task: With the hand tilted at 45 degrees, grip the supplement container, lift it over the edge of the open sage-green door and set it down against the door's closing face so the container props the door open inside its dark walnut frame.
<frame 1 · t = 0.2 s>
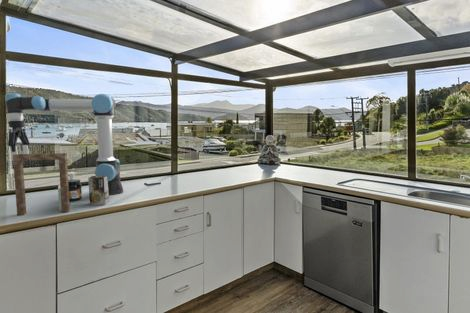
hand: (21, 156, 180), 27 cm above the worktop, tool pointing down, fingers open, 13 cm apart
coffee box: (99, 204, 177), on the worktop
flower in vase: (71, 193, 204), on the worktop
door frame: (44, 213, 157), on the worktop
door: (62, 196, 166), point 6 cm above the worktop, hinge at -75.0°
supplement container: (72, 200, 186), on the worktop
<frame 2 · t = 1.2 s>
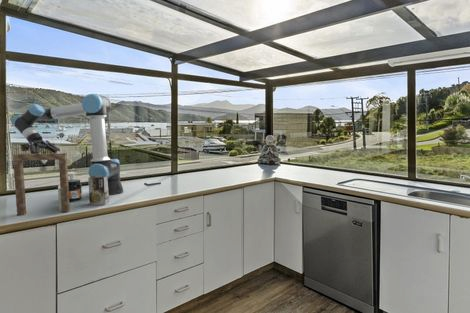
hand: (54, 161, 186), 24 cm above the worktop, tool tilted 45°, fingers open, 13 cm apart
nothing on the worktop moved.
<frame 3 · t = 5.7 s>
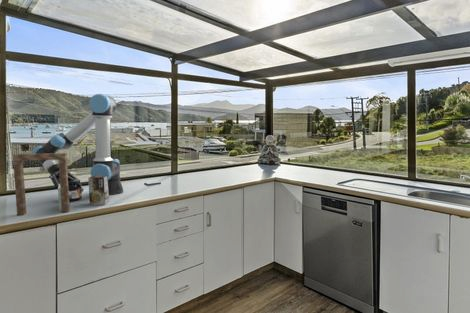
hand: (76, 193, 185), 4 cm above the worktop, tool tilted 45°, fingers closed on supplement container, 10 cm apart
supplement container: (72, 200, 186), on the worktop, touching gripper
everything else where it was.
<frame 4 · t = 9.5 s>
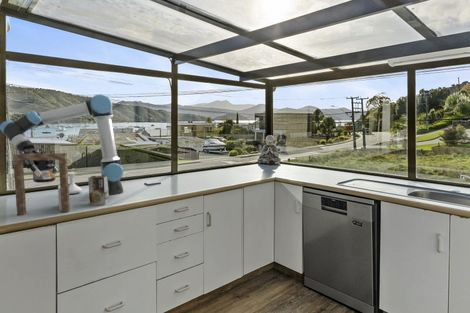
hand: (48, 173, 164), 19 cm above the worktop, tool tilted 45°, fingers closed on supplement container, 10 cm apart
supplement container: (44, 181, 165), point 15 cm above the worktop, touching gripper
everything else where it was.
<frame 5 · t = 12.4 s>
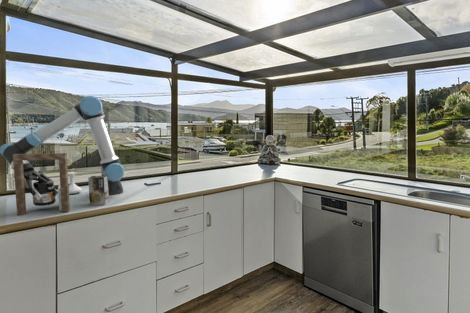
hand: (48, 196, 164), 7 cm above the worktop, tool tilted 45°, fingers closed on supplement container, 10 cm apart
door: (62, 196, 166), point 6 cm above the worktop, hinge at -75.0°, touching gripper
supplement container: (44, 204, 165), point 3 cm above the worktop, touching gripper
everything else where it was.
when the fingers open (6 cm above the worktop, at t = 13.5 s): supplement container drops 2 cm, on the worktop.
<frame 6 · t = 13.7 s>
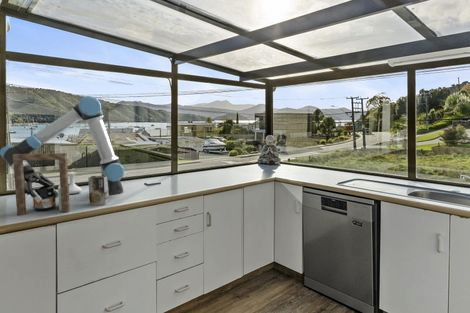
hand: (49, 198, 164), 6 cm above the worktop, tool tilted 45°, fingers open, 11 cm apart
door: (62, 196, 166), point 6 cm above the worktop, hinge at -75.6°, touching gripper
supplement container: (45, 209, 165), on the worktop
everything else where it was.
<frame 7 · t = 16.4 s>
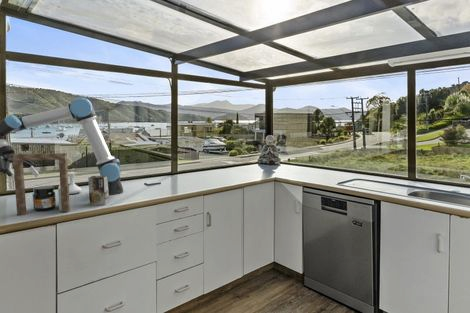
hand: (27, 177, 166), 17 cm above the worktop, tool tilted 45°, fingers open, 13 cm apart
door: (63, 196, 166), point 7 cm above the worktop, hinge at -76.9°
everything else where it was.
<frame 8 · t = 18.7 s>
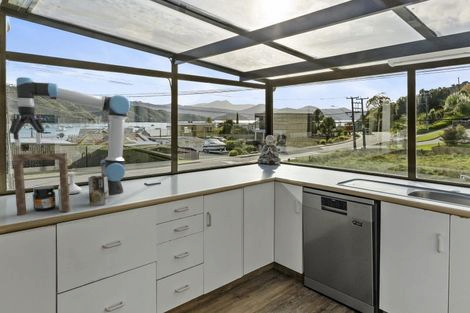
hand: (28, 144, 169), 35 cm above the worktop, tool pointing down, fingers open, 13 cm apart
nothing on the worktop moved.
at the end: supplement container 0.3 cm from the target spot, on the worktop; supplement container tilted 0°; door at -77° (first picture: -75°) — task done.
